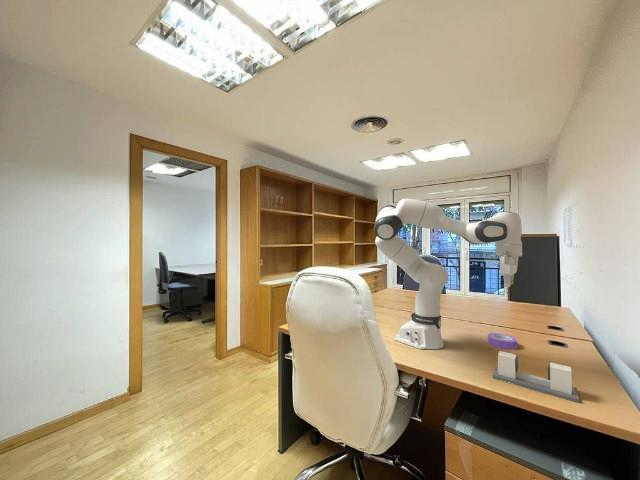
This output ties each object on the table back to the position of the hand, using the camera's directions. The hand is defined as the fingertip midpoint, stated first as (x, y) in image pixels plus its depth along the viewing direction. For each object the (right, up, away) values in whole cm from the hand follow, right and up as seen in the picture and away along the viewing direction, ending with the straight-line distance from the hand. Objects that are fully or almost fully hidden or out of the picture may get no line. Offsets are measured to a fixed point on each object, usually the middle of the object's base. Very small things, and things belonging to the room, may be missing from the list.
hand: (508, 285), depth 106 cm
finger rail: (-4, -31, -17) cm, 35 cm away
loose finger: (-9, -30, -12) cm, 34 cm away
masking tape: (+10, -32, +19) cm, 38 cm away
